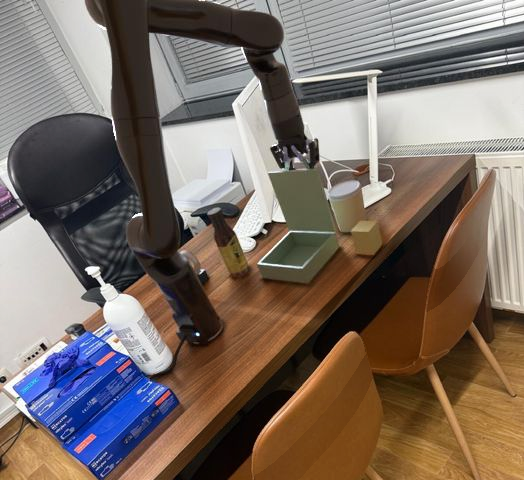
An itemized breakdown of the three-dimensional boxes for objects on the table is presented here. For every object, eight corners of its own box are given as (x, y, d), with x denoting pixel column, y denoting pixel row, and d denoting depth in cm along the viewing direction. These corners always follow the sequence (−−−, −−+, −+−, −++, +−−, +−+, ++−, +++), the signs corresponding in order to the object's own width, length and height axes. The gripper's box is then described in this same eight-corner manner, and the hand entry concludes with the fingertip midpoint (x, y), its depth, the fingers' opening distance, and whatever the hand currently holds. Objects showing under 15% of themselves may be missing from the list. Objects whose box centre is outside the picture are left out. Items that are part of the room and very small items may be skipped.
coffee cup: (374, 217, 130) (366, 178, 122) (362, 235, 125) (352, 195, 118) (345, 219, 135) (335, 181, 128) (331, 236, 130) (321, 198, 123)
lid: (316, 169, 109) (326, 159, 111) (267, 173, 119) (278, 163, 121) (334, 231, 120) (343, 220, 122) (288, 230, 130) (297, 220, 132)
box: (308, 285, 116) (302, 268, 113) (263, 279, 126) (256, 264, 123) (340, 249, 124) (335, 232, 120) (295, 246, 134) (289, 230, 130)
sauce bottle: (248, 276, 130) (220, 214, 118) (228, 280, 132) (200, 220, 120) (252, 264, 135) (226, 203, 122) (233, 268, 137) (206, 208, 125)
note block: (374, 257, 115) (368, 231, 111) (356, 256, 118) (350, 231, 114) (382, 246, 117) (377, 220, 113) (365, 245, 121) (359, 220, 116)
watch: (195, 276, 141) (179, 246, 135) (213, 278, 136) (197, 247, 130) (183, 287, 139) (167, 257, 132) (201, 289, 134) (185, 258, 127)
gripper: (253, 125, 111) (275, 189, 121) (300, 117, 102) (319, 188, 112) (270, 112, 114) (290, 176, 125) (317, 103, 105) (334, 173, 116)
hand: (304, 181), depth 119 cm, fingers closed on lid, 5 cm apart
